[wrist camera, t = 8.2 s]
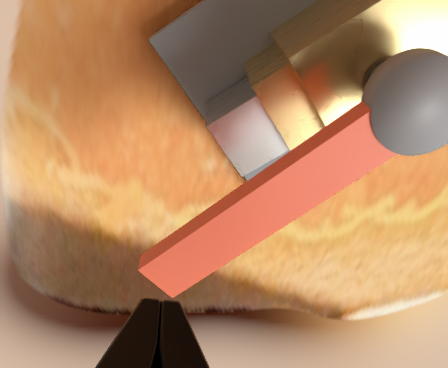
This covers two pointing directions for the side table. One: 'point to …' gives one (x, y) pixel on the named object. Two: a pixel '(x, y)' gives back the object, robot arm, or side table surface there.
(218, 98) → the valve
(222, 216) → the lever
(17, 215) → the side table surface
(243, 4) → the board
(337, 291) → the side table surface
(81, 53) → the side table surface
